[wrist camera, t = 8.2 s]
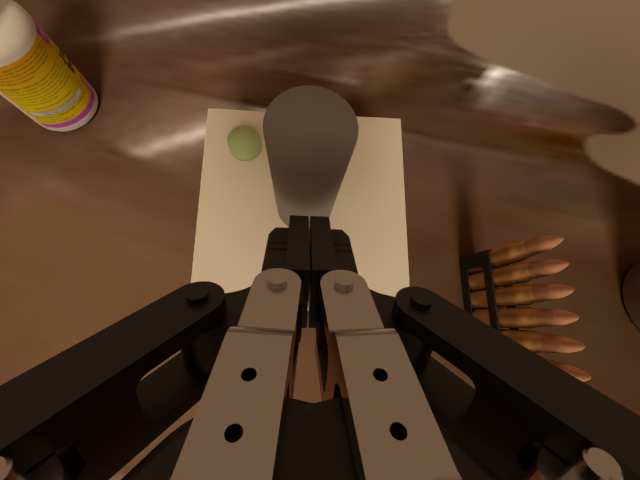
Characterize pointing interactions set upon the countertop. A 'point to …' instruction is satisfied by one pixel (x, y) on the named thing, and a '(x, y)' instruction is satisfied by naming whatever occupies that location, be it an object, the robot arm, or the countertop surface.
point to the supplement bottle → (41, 74)
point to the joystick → (300, 186)
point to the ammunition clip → (520, 296)
